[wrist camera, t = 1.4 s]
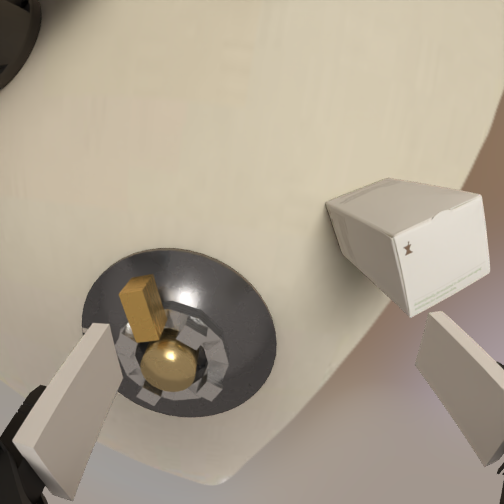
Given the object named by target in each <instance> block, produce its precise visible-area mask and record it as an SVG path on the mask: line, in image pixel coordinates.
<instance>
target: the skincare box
mask: <svg viewBox="0 0 504 504" xmlns="http://www.w3.org/2000/svg"><path fill="white" fill-rule="evenodd" d="M326 206H327V209H328V212H329V215H330V219H331V222H332V225H333V227H334V230H335V234H336V237H337V240H338V243H339V246H340V249H341V252H342V254H343V255H344V256H345V257H346V258H347V259H348V260H349V261H350V262H351V263H353V264H354V265H355V266H356V267H357V268H358V269H359V270H360V271H361V272H362V273H363V274H364V275H366V276H367V277H368V278H369V279H370V280H371V281H372V282H373V283H374V284H375V285H376V286H377V287H379V288H380V289H381V290H382V291H383V292H384V293H385V294H386V295H387V296H388V297H389V298H390V299H391V300H392V301H393V302H394V303H395V304H397V305H398V306H399V307H400V308H401V309H402V310H403V311H404V312H405V313H406V314H407V315H408V316H409V317H410V318H411V317H413V316H415V315H417V314H418V313H420V312H422V311H424V310H426V309H428V308H430V307H431V306H433V305H435V304H437V303H439V302H441V301H442V300H444V299H446V298H448V297H450V296H451V295H453V294H455V293H457V292H458V291H460V290H462V289H463V288H465V287H467V286H469V285H470V284H472V283H474V282H475V281H477V280H478V279H480V278H482V277H484V276H485V275H487V274H488V273H490V262H489V251H488V241H487V232H486V224H485V215H484V208H483V202H482V196H481V195H479V194H475V193H470V192H466V191H461V190H456V189H451V188H445V187H440V186H434V185H429V184H423V183H417V182H411V181H404V180H398V179H392V178H386V179H383V180H381V181H378V182H375V183H373V184H370V185H368V186H365V187H362V188H360V189H357V190H355V191H352V192H349V193H347V194H344V195H342V196H339V197H337V198H335V199H332V200H330V201H328V202H326Z"/></svg>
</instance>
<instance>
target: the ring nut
mask: <svg viewBox="0 0 504 504" xmlns="http://www.w3.org/2000/svg"><path fill="white" fill-rule="evenodd" d="M119 297H120V300H121V303H122V305H123V308H124V311H125V314H126V317H127V320H126V321H125V323H124V325H123V326H122V328H121V330H120V335H119V339H118V341H117V342H116V344H115V349H116V350H117V355H118V357H119V359H120V361H121V364H122V366H123V368H124V370H125V372H126V374H127V376H128V377H130V378H131V379H132V380H133V381H134V382H136V383H137V384H138V385H139V386H140V388H139V390H138V393H137V396H136V397H138V398H139V399H141V400H143V401H145V402H147V403H149V404H151V405H153V406H155V404H156V403H157V402H158V400H159V399H160V398H161V397H164V398H167V399H170V400H186V399H197V398H201V397H203V398H205V399H207V400H209V401H211V402H212V400H213V399H214V398H215V397H216V396H217V395H218V394H219V393H220V392H221V390H222V389H223V377H224V375H225V373H226V370H227V368H228V365H229V352H228V348H227V344H226V341H225V337H224V333H223V330H222V329H221V328H220V327H219V326H218V325H217V324H216V323H215V322H214V321H213V320H211V319H210V318H209V317H208V316H207V315H206V314H205V313H204V312H203V311H202V310H200V309H197V308H194V307H191V306H188V305H184V304H181V303H178V302H175V301H172V300H171V301H165V302H161V298H160V295H159V292H158V289H157V285H156V282H155V279H154V275H153V274H149V275H144V276H138V277H133V278H131V279H130V280H129V282H128V283H127V284H126V285H125V287H124V288H123V289H122V290H121V292H120V293H119ZM164 328H171V329H174V330H177V331H178V334H177V337H176V339H177V340H179V341H180V342H182V343H184V344H186V345H187V346H189V347H191V348H193V349H195V350H197V349H198V348H199V346H200V345H201V346H202V347H203V348H204V351H205V354H206V357H207V362H206V364H205V367H203V368H202V369H201V370H199V371H198V372H196V374H195V379H194V381H193V383H192V384H191V386H190V387H188V388H187V389H185V390H182V391H178V392H168V391H163V390H160V389H158V388H156V387H154V386H152V385H151V384H150V383H149V382H148V381H147V380H146V379H145V378H144V376H143V374H142V372H141V368H140V364H141V360H142V358H143V354H142V352H141V349H140V347H139V345H140V342H148V341H156V340H160V337H161V335H162V332H163V329H164Z"/></svg>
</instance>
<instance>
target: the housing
mask: <svg viewBox="0 0 504 504" xmlns="http://www.w3.org/2000/svg"><path fill="white" fill-rule="evenodd" d="M149 274H153V275H154V279H155V282H156V285H157V289H158V292H159V295H160V298H161V302H165V301H171V300H172V301H175V302H178V303H181V304H184V305H188V306H191V307H194V308H197V309H200V310H202V311H203V312H204V313H205V314H206V315H207V316H208V317H209V318H210V319H211V320H213V321H214V322H215V323H216V324H217V325H218V326H219V327H220V328H221V329H222V330H223V333H224V337H225V341H226V344H227V348H228V352H229V365H228V368H227V370H226V373H225V375H224V377H223V389H222V390H221V392H220V393H219V394H218V395H217V396H216V397H215V398H214V399H213V400H212V402H211V401H209V400H207V399H205V398H203V397H201V398H197V399H186V400H170V399H167V398H164V397H161V398H160V399H159V400H158V402H157V403H156V404H155V406H153V405H151V404H149V403H147V402H145V401H143V400H141V399H139V398H138V397H136V396H137V393H138V390H139V388H140V386H139V385H138V384H137V383H136V382H134V381H133V380H132V379H131V378H130V377H128V376H127V374H126V372H125V370H124V368H123V366H122V364H121V361H120V359H119V357H118V355H117V357H118V361H119V365H120V368H121V372H122V375H123V379H122V382H121V384H120V386H119V388H118V392H119V393H121V394H122V395H124V396H125V397H126V398H128V399H130V400H131V401H133V402H135V403H136V404H138V405H141V406H143V407H145V408H147V409H150V410H153V411H155V412H159V413H162V414H166V415H172V416H178V417H203V416H210V415H215V414H219V413H223V412H225V411H228V410H231V409H233V408H235V407H237V406H239V405H241V404H242V403H244V402H245V401H247V400H248V399H250V398H251V397H252V396H253V395H254V394H255V393H256V392H257V391H258V390H259V389H260V388H261V387H262V385H263V384H264V383H265V381H266V380H267V378H268V376H269V375H270V372H271V370H272V367H273V365H274V360H275V356H276V333H275V328H274V324H273V320H272V317H271V314H270V312H269V310H268V307H267V305H266V304H265V302H264V300H263V299H262V297H261V295H260V294H259V293H258V292H257V290H256V289H255V288H254V287H253V286H252V284H251V283H250V282H248V281H247V280H246V279H245V278H244V277H243V276H242V275H241V274H239V273H238V272H237V271H235V270H234V269H233V268H231V267H230V266H228V265H226V264H224V263H222V262H221V261H219V260H217V259H215V258H212V257H210V256H207V255H205V254H202V253H198V252H194V251H190V250H184V249H176V248H157V249H150V250H144V251H141V252H137V253H133V254H131V255H129V256H127V257H124V258H122V259H121V260H119V261H117V262H116V263H114V264H113V265H111V266H110V267H109V268H108V269H107V270H106V271H105V272H104V273H103V274H102V275H101V276H100V277H99V278H98V279H97V280H96V282H95V283H94V284H93V286H92V288H91V289H90V291H89V293H88V295H87V298H86V301H85V304H84V308H83V314H82V331H83V336H84V334H85V333H86V332H87V330H88V329H89V328H90V326H91V325H92V324H93V323H101V324H110V329H111V333H112V337H113V341H114V345H115V344H116V342H117V341H118V339H119V335H120V330H121V328H122V326H123V325H124V323H125V321H126V320H127V317H126V314H125V311H124V308H123V305H122V303H121V300H120V297H119V293H120V292H121V290H122V289H123V288H124V287H125V285H126V284H127V283H128V282H129V280H130V279H131V278H133V277H138V276H144V275H149ZM177 334H178V331H177V330H174V329H171V328H164V329H163V332H162V335H161V337H160V340H156V341H148V342H140V345H139V347H140V349H141V352H142V354H143V358H142V360H141V364H140V368H141V372H142V374H143V376H144V378H145V379H146V380H147V381H148V382H149V383H150V384H151V385H152V386H154V387H156V388H158V389H160V390H163V391H168V392H178V391H182V390H185V389H187V388H188V387H190V386H191V384H192V383H193V381H194V379H195V374H196V372H198V371H199V370H201V369H202V368H203V367H205V364H206V362H207V357H206V354H205V351H204V348H203V347H202V346H201V345H200V346H199V348H198V349H197V350H195V349H193V348H191V347H189V346H187V345H186V344H184V343H182V342H180V341H179V340H177V339H176V337H177ZM116 353H117V350H116Z"/></svg>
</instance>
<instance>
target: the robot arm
mask: <svg viewBox="0 0 504 504" xmlns="http://www.w3.org/2000/svg"><path fill="white" fill-rule="evenodd" d="M40 23H41V8H40V4H39V2H38V0H0V89H1V88H2V87H4V86H5V85H6V84H7V83H8V82H9V81H10V80H11V79H12V78H13V77H14V76H15V75H16V73H17V72H18V71H19V70H20V68H21V67H22V65H23V64H24V62H25V61H26V59H27V57H28V56H29V54H30V52H31V50H32V48H33V46H34V43H35V41H36V38H37V35H38V32H39V28H40ZM415 366H416V367H417V369H418V370H419V371H420V373H421V374H422V376H423V377H424V378H425V380H426V381H427V382H428V384H429V385H430V387H431V388H432V389H433V391H434V392H435V394H436V395H437V396H438V398H439V399H440V401H441V402H442V404H443V405H444V407H445V408H446V409H447V411H448V412H449V414H450V415H451V417H452V418H453V420H454V421H455V422H456V424H457V426H458V427H459V428H460V430H461V431H462V433H463V435H464V436H465V438H466V439H467V441H468V442H469V444H470V445H471V446H472V448H473V449H474V451H475V453H476V454H477V456H478V458H479V459H480V461H481V462H482V464H483V465H484V467H486V466H488V465H490V464H492V463H494V462H496V461H497V460H499V459H500V458H501V457H502V455H503V454H504V365H502V364H501V363H499V362H495V361H494V360H493V359H492V358H491V357H490V356H489V355H488V354H487V353H486V352H485V351H484V350H483V349H482V348H481V347H480V346H479V345H478V344H477V343H476V342H475V341H474V340H473V339H472V338H471V337H470V336H468V334H466V333H465V332H464V331H463V330H462V329H461V328H460V327H459V326H458V325H457V324H456V323H455V322H453V321H452V320H451V319H450V318H449V317H448V316H447V315H446V314H445V313H443V312H442V311H439V312H431V313H428V317H427V321H426V326H425V330H424V333H423V337H422V341H421V344H420V348H419V352H418V355H417V359H416V362H415ZM122 379H123V375H122V372H121V368H120V365H119V361H118V357H117V353H116V349H115V345H114V341H113V337H112V333H111V329H110V324H101V323H93V324H92V325H91V326H90V328H89V329H88V330H87V332H86V333H85V334H84V336H83V337H82V338H81V340H80V341H79V342H78V344H77V345H76V346H75V348H74V349H73V350H72V352H71V353H70V355H69V356H68V357H67V359H66V360H65V362H64V363H63V364H62V366H61V367H60V369H59V370H58V371H57V373H56V374H55V376H54V377H53V379H52V380H51V381H50V383H49V384H48V386H43V385H40V386H39V387H37V388H36V389H35V390H33V391H32V392H31V393H30V394H29V395H28V396H27V398H26V399H25V401H24V402H23V405H21V406H20V408H19V409H18V413H16V414H15V415H14V417H13V418H12V420H11V421H10V423H9V424H8V426H7V427H6V429H5V430H4V432H3V433H2V435H1V437H0V504H48V503H47V500H46V498H45V496H44V495H43V493H42V491H43V489H44V487H45V486H46V487H47V488H48V490H49V491H50V492H51V493H52V494H53V495H55V496H58V497H61V498H64V499H67V500H70V501H73V500H74V497H75V494H76V492H77V489H78V486H79V483H80V481H81V478H82V476H83V473H84V470H85V468H86V465H87V463H88V460H89V457H90V455H91V452H92V450H93V447H94V445H95V442H96V440H97V438H98V435H99V433H100V430H101V428H102V426H103V423H104V421H105V418H106V416H107V414H108V411H109V409H110V407H111V404H112V402H113V400H114V397H115V395H116V393H117V391H118V388H119V386H120V384H121V382H122ZM503 469H504V463H503V464H502V466H501V467H500V468H499V469H498V472H497V474H500V472H501V471H502V470H503ZM503 475H504V473H503ZM500 504H504V483H503V488H502V494H501V499H500Z"/></svg>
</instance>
